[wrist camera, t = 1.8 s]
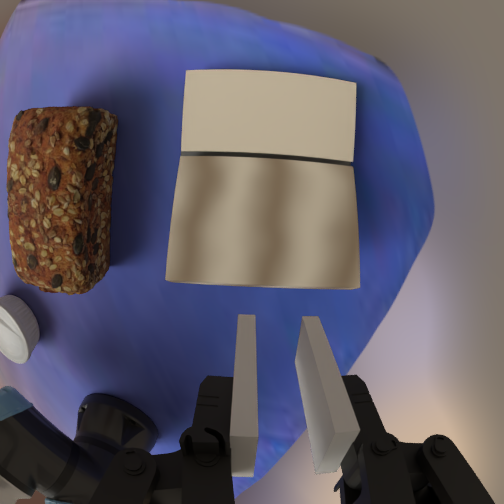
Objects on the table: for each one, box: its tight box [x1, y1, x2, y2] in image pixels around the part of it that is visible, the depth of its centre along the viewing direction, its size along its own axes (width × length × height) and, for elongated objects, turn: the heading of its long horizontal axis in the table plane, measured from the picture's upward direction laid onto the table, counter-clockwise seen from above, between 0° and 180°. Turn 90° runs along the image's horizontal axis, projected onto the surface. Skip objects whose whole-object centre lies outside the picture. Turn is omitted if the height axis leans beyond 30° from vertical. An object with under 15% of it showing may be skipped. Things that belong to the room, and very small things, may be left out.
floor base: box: [181, 69, 356, 166], centre depth 27 cm, size 17×20×3 cm
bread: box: [7, 106, 118, 295], centre depth 24 cm, size 19×11×10 cm, turn 170°
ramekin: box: [0, 295, 39, 364], centre depth 32 cm, size 11×11×5 cm
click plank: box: [165, 156, 360, 290], centre depth 25 cm, size 16×11×2 cm
